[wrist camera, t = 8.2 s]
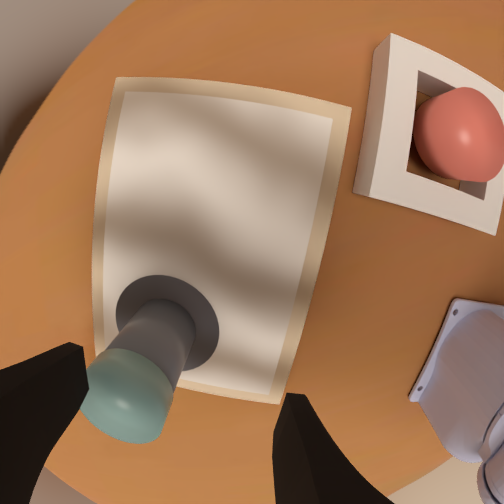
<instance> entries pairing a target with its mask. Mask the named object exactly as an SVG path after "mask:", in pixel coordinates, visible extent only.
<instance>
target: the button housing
mask: <svg viewBox="0 0 504 504" xmlns="http://www.w3.org/2000/svg"><path fill="white" fill-rule="evenodd" d="M460 87H470V88H473V89H476V90H478V91H480V92H481V93H482V94H484V95H485V96H486V97H487V98H488V99H489V100H490V101H491V102H492V103H493V105H494V106H495V108H496V109H497V111H498V113H499V115H500V117H501V119H502V122H503V125H504V92H503V91H502V90H500V89H499V88H497V87H496V86H494V85H493V84H491V83H489V82H488V81H486V80H485V79H483V78H482V77H480V76H478V75H477V74H475V73H473V72H472V71H470V70H468V69H466V68H465V67H463V66H461V65H459V64H457V63H456V62H454V61H452V60H450V59H448V58H446V57H444V56H442V55H440V54H438V53H436V52H434V51H432V50H430V49H428V48H426V47H424V46H421V45H419V44H417V43H415V42H412V41H410V40H408V39H405V38H403V37H400V36H398V35H395V34H393V33H390V34H389V35H388V36H387V37H386V38H385V39H384V40H383V41H382V42H381V43H380V44H379V46H378V47H377V48H376V49H375V50H374V53H373V63H372V72H371V81H370V89H369V97H368V104H367V111H366V118H365V125H364V131H363V137H362V143H361V149H360V155H359V160H358V166H357V171H356V176H355V181H354V186H353V191H352V193H355V194H359V195H363V196H367V197H371V198H375V199H378V200H382V201H386V202H390V203H393V204H397V205H400V206H404V207H407V208H411V209H414V210H418V211H421V212H424V213H428V214H431V215H434V216H437V217H441V218H444V219H447V220H450V221H453V222H456V223H459V224H462V225H465V226H468V227H471V228H474V229H477V230H480V231H483V232H485V233H488V234H491V235H494V236H496V232H497V227H498V223H499V218H500V213H501V208H502V203H503V197H504V164H503V167H502V169H501V170H500V172H499V173H498V174H497V175H496V177H494V178H493V179H491V180H489V181H486V182H474V181H464V180H461V181H460V187H459V190H456V189H454V188H451V187H449V186H446V185H443V184H441V183H438V182H435V181H432V180H430V179H427V178H424V177H421V176H418V175H415V174H412V173H409V172H406V169H407V163H408V157H409V151H410V144H411V137H412V130H413V122H414V113H415V103H416V92H417V91H419V92H421V93H424V94H426V95H428V96H430V97H435V96H438V95H440V94H443V93H446V92H448V91H451V90H454V89H456V88H460Z"/></svg>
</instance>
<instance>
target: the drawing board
mask: <svg viewBox="0 0 504 504" xmlns="http://www.w3.org/2000/svg"><path fill="white" fill-rule="evenodd" d="M351 109H352V108H351V107H347V106H344V105H340V104H336V103H332V102H328V101H324V100H320V99H316V98H312V97H308V96H303V95H298V94H294V93H289V92H284V91H278V90H273V89H267V88H261V87H255V86H249V85H242V84H234V83H226V82H217V81H207V80H196V79H182V78H161V77H116V81H115V85H114V89H113V93H112V97H111V102H110V106H109V111H108V116H107V121H106V126H105V132H104V137H103V143H102V150H101V156H100V163H99V171H98V179H97V188H96V197H95V209H94V223H93V242H92V308H93V327H94V341H95V352H96V357H97V356H98V355H99V354H100V353H101V352H103V351H105V349H106V348H107V347H108V346H109V345H110V343H111V342H112V341H113V340H114V338H115V337H116V336H117V335H118V334H119V333H120V331H121V330H122V329H123V328H124V327H125V325H126V324H127V323H128V322H129V321H130V319H131V318H132V317H133V316H134V315H135V314H136V312H137V311H138V310H139V309H140V308H141V307H142V305H144V304H145V303H146V302H148V301H150V300H154V299H167V300H171V301H173V302H175V303H177V304H179V305H181V306H182V307H183V308H184V309H185V310H186V311H187V312H188V313H189V314H190V316H191V317H192V319H193V321H194V324H195V328H196V335H195V339H194V342H193V344H192V347H191V349H190V352H189V355H188V357H187V360H186V362H185V365H184V367H183V370H182V372H181V375H180V378H179V380H178V383H177V385H176V386H177V387H181V388H186V389H190V390H195V391H199V392H204V393H209V394H214V395H219V396H225V397H231V398H237V399H243V400H249V401H256V402H263V403H271V404H280V401H281V398H282V395H283V392H284V389H285V386H286V383H287V380H288V377H289V373H290V370H291V367H292V364H293V361H294V357H295V354H296V351H297V348H298V344H299V341H300V337H301V334H302V331H303V327H304V324H305V320H306V316H307V313H308V309H309V306H310V302H311V298H312V295H313V291H314V287H315V283H316V279H317V275H318V271H319V267H320V263H321V259H322V255H323V251H324V247H325V243H326V238H327V234H328V230H329V225H330V221H331V216H332V212H333V207H334V202H335V198H336V193H337V188H338V183H339V178H340V173H341V168H342V162H343V157H344V151H345V146H346V140H347V134H348V128H349V122H350V116H351Z"/></svg>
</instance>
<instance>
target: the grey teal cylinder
mask: <svg viewBox="0 0 504 504" xmlns="http://www.w3.org/2000/svg"><path fill="white" fill-rule="evenodd" d="M195 335H196V328H195V324H194V321H193V319H192V317H191V316H190V314H189V313H188V312H187V311H186V310H185V309H184V308H183V307H182V306H181V305H179V304H177V303H175V302H173V301H171V300H167V299H154V300H150V301H148V302H146V303H145V304H144V305H142V307H141V308H140V309H139V310H138V311H137V312H136V314H135V315H134V316H133V317H132V318H131V319H130V321H129V322H128V323H127V324H126V325H125V327H124V328H123V329H122V330H121V331H120V333H119V334H118V335H117V336H116V337H115V338H114V340H113V341H112V342H111V343H110V345H109V346H108V347H107V348H106V349H105V351H103V352H101V353H100V354H99V355H98V356H97V357H96V358H95V359H94V361H93V362H92V363H91V364H90V366H89V367H88V368H87V369H86V372H87V378H88V384H89V391H88V393H87V395H86V397H85V399H84V401H83V403H82V405H81V407H80V410H81V411H82V413H83V414H84V415H85V417H86V418H87V419H88V420H89V421H90V422H91V423H92V424H93V425H94V426H96V427H97V428H98V429H100V430H101V431H103V432H104V433H106V434H107V435H109V436H111V437H113V438H116V439H118V440H121V441H124V442H129V443H135V444H142V443H148V442H151V441H154V440H155V439H157V438H158V437H159V435H160V434H161V431H162V429H163V426H164V423H165V420H166V418H167V415H168V412H169V410H170V407H171V404H172V401H173V393H174V391H175V388H176V385H177V383H178V380H179V378H180V375H181V372H182V370H183V367H184V365H185V362H186V360H187V357H188V355H189V352H190V349H191V347H192V344H193V342H194V339H195Z"/></svg>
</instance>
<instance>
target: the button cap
mask: <svg viewBox="0 0 504 504" xmlns="http://www.w3.org/2000/svg"><path fill="white" fill-rule="evenodd" d="M413 135H414V141H415V145H416V148H417V151H418V153H419V155H420V157H421V159H422V161H423V162H424V163H425V165H426V166H427V167H428V168H429V169H430V170H431V171H432V172H433V173H435V174H436V175H438V176H440V177H442V178H445V179H454V180H464V181H474V182H486V181H489V180H491V179H493V178H494V177H496V175H497V174H498V173H499V172H500V170H501V169H502V167H503V164H504V125H503V122H502V119H501V117H500V115H499V113H498V111H497V109H496V108H495V106H494V105H493V103H492V102H491V101H490V100H489V99H488V98H487V97H486V96H485V95H484V94H482V93H481V92H480V91H478V90H476V89H473V88H470V87H460V88H456V89H454V90H451V91H448V92H446V93H443V94H440V95H438V96H435V97H433V98H430V99H428V100H426V101H425V102H423V103H422V104H421V105H420V107H419V108H418V110H417V112H416V115H415V118H414V123H413Z"/></svg>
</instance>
